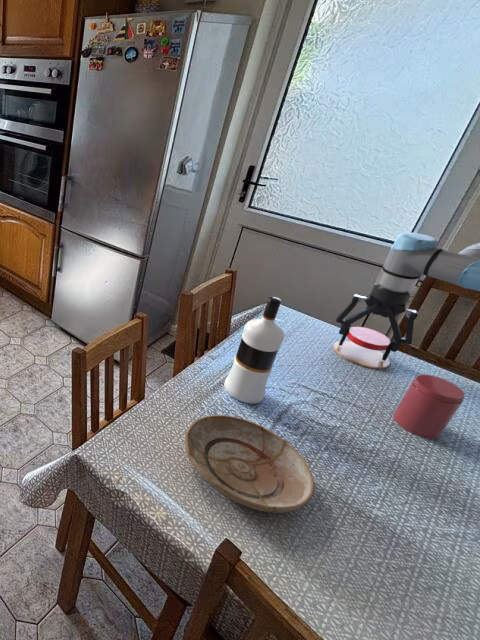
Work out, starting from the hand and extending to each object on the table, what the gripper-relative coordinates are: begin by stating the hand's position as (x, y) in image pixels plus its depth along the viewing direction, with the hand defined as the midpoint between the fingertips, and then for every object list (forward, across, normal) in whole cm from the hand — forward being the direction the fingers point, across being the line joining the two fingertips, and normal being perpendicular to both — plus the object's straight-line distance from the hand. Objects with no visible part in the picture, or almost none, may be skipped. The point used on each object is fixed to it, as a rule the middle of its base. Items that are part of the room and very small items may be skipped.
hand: (362, 350), depth 125 cm
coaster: (+2, 0, 0) cm, 2 cm away
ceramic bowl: (+2, +13, +70) cm, 71 cm away
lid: (-5, 0, 0) cm, 5 cm away
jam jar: (+2, -13, +25) cm, 28 cm away
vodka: (+2, +20, +43) cm, 47 cm away
